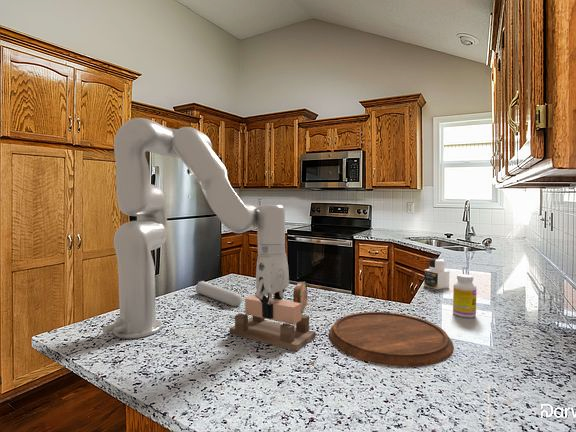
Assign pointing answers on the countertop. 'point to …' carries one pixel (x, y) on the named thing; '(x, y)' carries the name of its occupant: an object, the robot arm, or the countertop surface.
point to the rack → (274, 331)
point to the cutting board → (391, 339)
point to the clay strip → (275, 309)
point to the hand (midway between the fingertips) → (272, 314)
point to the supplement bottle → (464, 296)
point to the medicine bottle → (436, 274)
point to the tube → (219, 293)
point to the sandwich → (300, 294)
